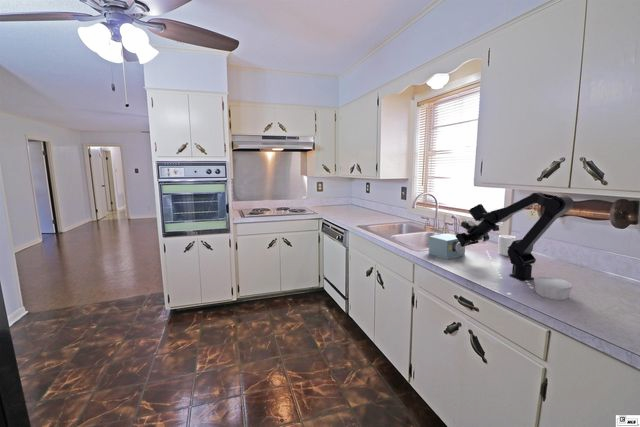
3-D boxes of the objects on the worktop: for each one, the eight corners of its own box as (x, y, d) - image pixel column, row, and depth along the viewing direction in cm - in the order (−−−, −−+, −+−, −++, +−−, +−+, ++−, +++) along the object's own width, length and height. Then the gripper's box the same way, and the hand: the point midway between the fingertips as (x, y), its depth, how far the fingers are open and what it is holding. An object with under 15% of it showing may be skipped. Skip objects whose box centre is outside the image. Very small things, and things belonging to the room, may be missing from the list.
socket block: (465, 255, 159) (466, 237, 157) (446, 259, 153) (447, 240, 151) (446, 250, 170) (447, 233, 168) (428, 253, 164) (429, 236, 162)
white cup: (513, 253, 160) (514, 235, 159) (515, 257, 153) (516, 238, 152) (496, 251, 164) (497, 234, 162) (497, 255, 157) (498, 237, 156)
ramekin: (550, 287, 115) (552, 275, 114) (579, 300, 104) (581, 286, 103) (525, 290, 113) (526, 277, 113) (551, 303, 102) (553, 288, 102)
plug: (464, 252, 154) (465, 241, 153) (456, 254, 151) (457, 242, 150) (443, 246, 166) (443, 236, 166) (435, 247, 164) (435, 237, 163)
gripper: (485, 213, 148) (465, 231, 160) (459, 217, 140) (440, 235, 152) (499, 231, 143) (477, 248, 154) (473, 236, 135) (452, 253, 146)
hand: (461, 245), depth 152 cm, fingers closed
